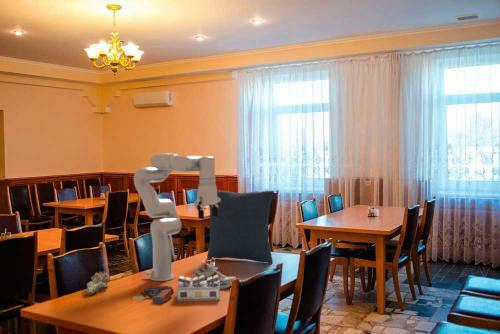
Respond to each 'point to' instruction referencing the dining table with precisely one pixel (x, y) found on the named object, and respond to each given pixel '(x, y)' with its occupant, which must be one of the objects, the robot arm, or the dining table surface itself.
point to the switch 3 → (212, 279)
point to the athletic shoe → (212, 271)
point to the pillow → (241, 226)
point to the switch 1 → (184, 279)
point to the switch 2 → (198, 279)
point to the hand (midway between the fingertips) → (208, 217)
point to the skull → (97, 283)
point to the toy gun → (156, 294)
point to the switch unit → (198, 291)
